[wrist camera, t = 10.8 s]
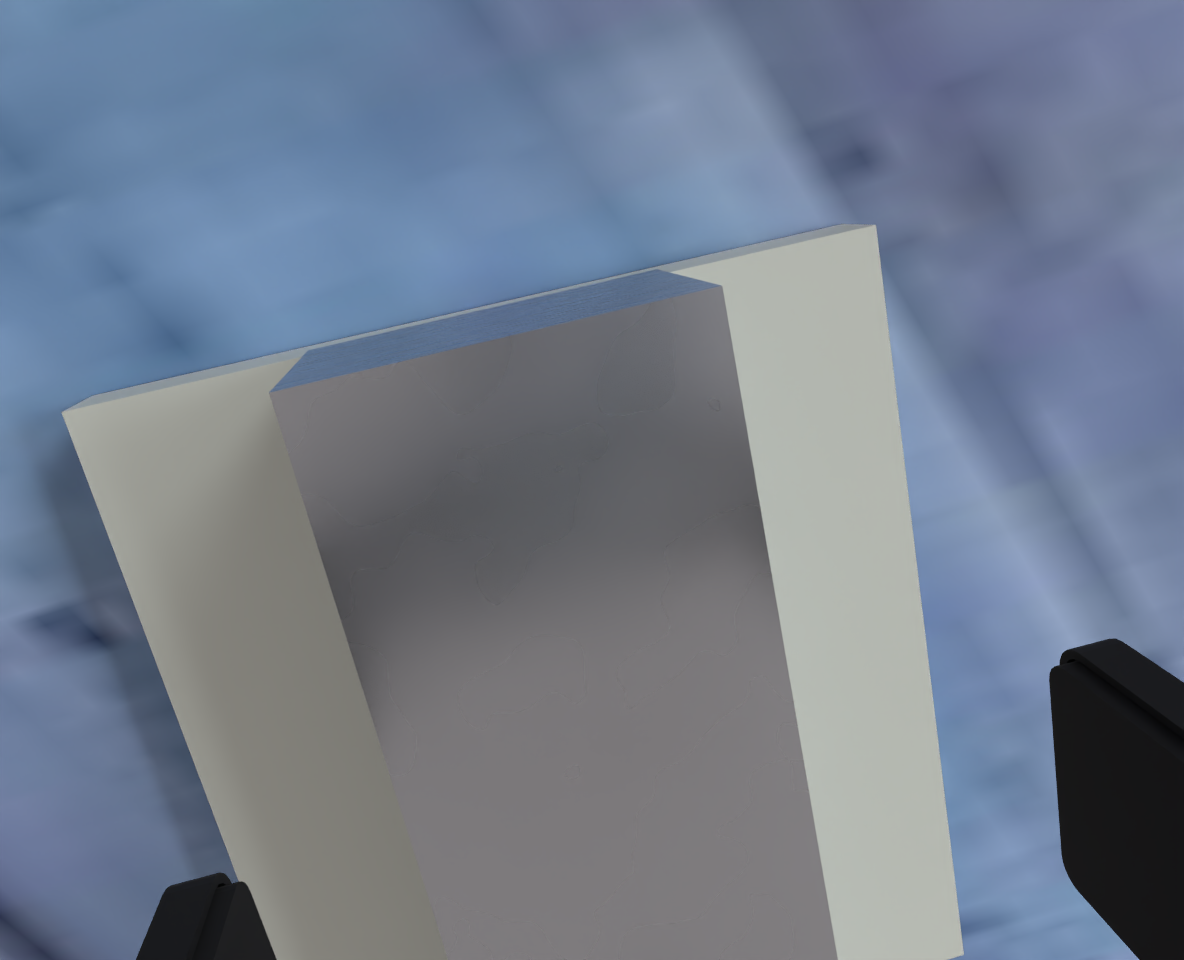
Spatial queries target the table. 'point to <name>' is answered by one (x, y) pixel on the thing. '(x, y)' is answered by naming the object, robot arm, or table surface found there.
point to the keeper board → (331, 683)
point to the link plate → (568, 623)
